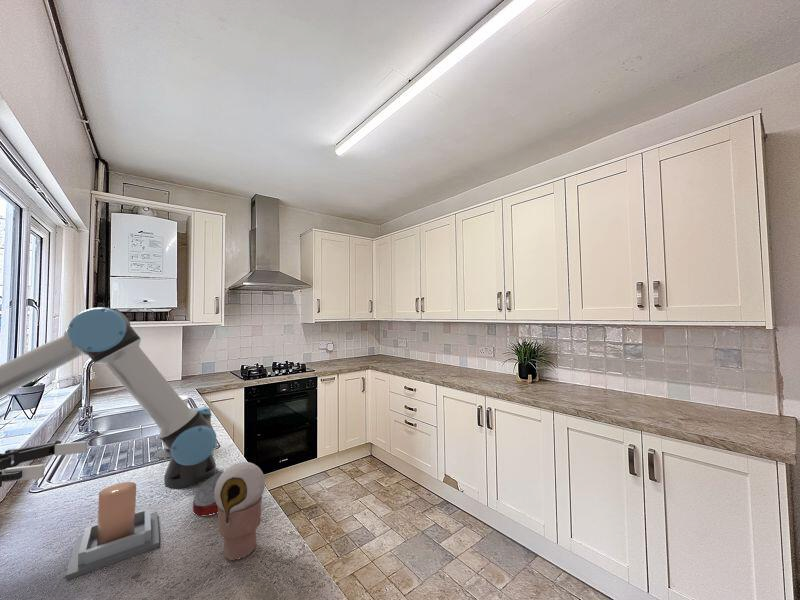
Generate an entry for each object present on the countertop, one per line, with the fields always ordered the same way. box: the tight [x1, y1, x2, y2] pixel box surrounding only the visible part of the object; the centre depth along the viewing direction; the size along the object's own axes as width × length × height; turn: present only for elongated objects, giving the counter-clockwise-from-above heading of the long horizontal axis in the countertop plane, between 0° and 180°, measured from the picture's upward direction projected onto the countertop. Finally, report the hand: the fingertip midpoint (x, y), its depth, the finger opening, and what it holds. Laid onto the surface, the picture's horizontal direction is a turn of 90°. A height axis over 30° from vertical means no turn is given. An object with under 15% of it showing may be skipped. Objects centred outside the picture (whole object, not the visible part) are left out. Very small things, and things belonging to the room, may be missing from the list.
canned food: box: [192, 471, 224, 515], centre depth 96 cm, size 11×10×10 cm
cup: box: [153, 395, 189, 459], centre depth 136 cm, size 12×12×22 cm
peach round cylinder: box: [97, 481, 137, 546], centre depth 81 cm, size 7×7×12 cm
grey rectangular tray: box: [65, 507, 160, 581], centre depth 81 cm, size 16×16×4 cm
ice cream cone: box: [214, 461, 266, 561], centre depth 78 cm, size 11×11×20 cm
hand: (66, 457), depth 79 cm, fingers open, 13 cm apart
